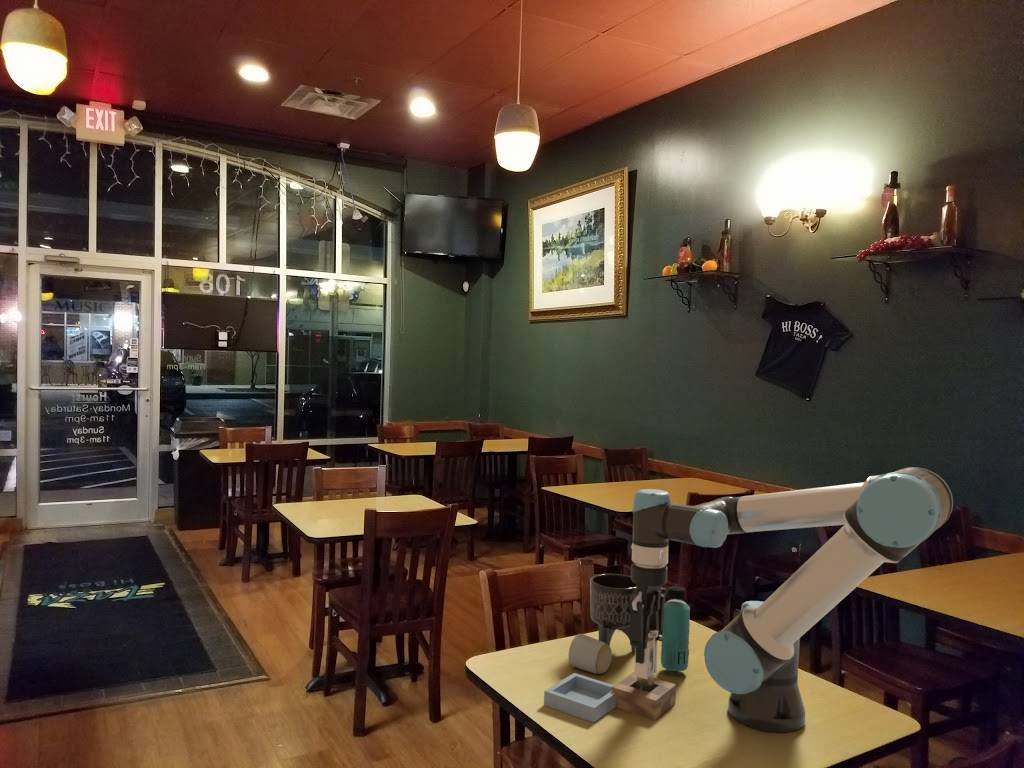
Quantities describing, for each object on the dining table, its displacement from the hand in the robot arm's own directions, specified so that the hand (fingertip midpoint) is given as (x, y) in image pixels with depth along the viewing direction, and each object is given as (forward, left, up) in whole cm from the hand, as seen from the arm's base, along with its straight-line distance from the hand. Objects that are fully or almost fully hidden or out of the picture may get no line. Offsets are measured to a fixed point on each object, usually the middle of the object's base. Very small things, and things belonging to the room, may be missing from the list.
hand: (645, 673), depth 161 cm
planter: (+19, -22, -7) cm, 30 cm away
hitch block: (0, 0, -7) cm, 7 cm away
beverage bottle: (+2, -20, -7) cm, 21 cm away
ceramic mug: (+18, -10, -7) cm, 22 cm away
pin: (0, 0, -6) cm, 6 cm away
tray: (+10, +8, -7) cm, 15 cm away
